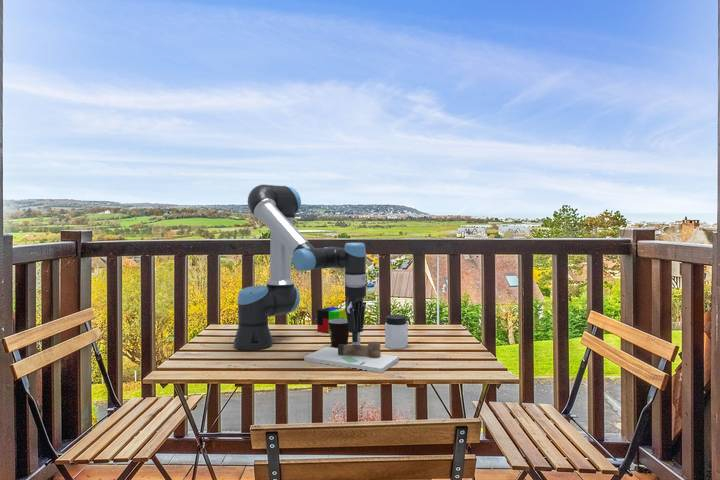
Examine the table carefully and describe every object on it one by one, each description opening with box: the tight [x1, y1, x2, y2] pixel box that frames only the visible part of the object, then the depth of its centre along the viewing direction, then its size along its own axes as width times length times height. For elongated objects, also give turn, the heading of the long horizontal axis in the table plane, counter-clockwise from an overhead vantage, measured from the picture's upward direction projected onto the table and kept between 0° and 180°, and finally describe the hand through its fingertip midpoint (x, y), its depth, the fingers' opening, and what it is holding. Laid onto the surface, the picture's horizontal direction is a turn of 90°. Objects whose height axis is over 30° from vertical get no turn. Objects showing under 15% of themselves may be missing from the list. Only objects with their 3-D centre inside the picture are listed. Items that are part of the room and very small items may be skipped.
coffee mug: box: [329, 319, 350, 348], centre depth 182 cm, size 12×9×10 cm
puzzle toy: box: [316, 306, 347, 335], centre depth 207 cm, size 10×10×10 cm
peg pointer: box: [338, 341, 381, 357], centre depth 162 cm, size 15×4×4 cm, turn 80°
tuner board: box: [303, 346, 400, 374], centre depth 161 cm, size 30×15×2 cm, turn 63°
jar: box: [384, 314, 409, 350], centre depth 180 cm, size 9×8×12 cm
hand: (356, 350), depth 164 cm, fingers closed
